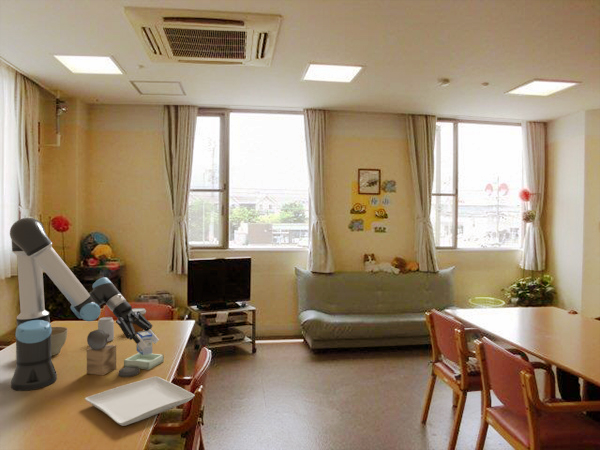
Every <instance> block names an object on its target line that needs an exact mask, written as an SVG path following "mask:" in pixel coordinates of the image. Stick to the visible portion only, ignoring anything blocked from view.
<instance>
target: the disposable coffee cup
mask: <svg viewBox="0 0 600 450" xmlns="http://www.w3.org/2000/svg"><path fill="white" fill-rule="evenodd" d="M132 311H133V312H135V313H136V312H138V311H140V313H141V314H142V316H143V317H145V316H146V313H147V310H146V308H143V307H136V308H135V307H134V308H132ZM145 318H146V317H145ZM132 325H133V328H134V330H135V333H137V332H140V331H144V330H143V329H142V328H140V327H139V326H138V325H136V324H133V323H132Z"/></svg>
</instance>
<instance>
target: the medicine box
mask: <svg viewBox="0 0 600 450" xmlns="http://www.w3.org/2000/svg"><path fill="white" fill-rule="evenodd" d="M137 334H138V335H139V336H140V337H141V339H142V340H143V341H144V342H145V344H146V345H147V346H146V347H145V348H144V350H142V349H141V348H140V347H139V345H138V344H137V343H136V352H137V353H140V354H142V355H148V354H153V341H152V334H150V333H149V332H147V331H145V330H143V331H140V332H136V335H137Z"/></svg>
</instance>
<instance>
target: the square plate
mask: <svg viewBox="0 0 600 450" xmlns="http://www.w3.org/2000/svg"><path fill="white" fill-rule="evenodd" d="M194 397H195V394H194V393H192V392H191V391H189V390H187V389H185V388H183V387H181V386H179V385H176V384H174V383H173V382H171V381H169V380H166V379H164V378H162V377H160V376H156V375H155V376H151V377H148V378H144V379H141V380H138V381H134V382H131V383H127V384H123V385H120V386H117V387H114V388H110V389H107V390H104V391H102V392H99V393H95V394H92V395H89V396H86V397H85V398H84V401H86V402H88V403H89V404H91V405H92V406H94V408H96V409H98V410H100V411H102V412H103V413H104V414H106V415H107V416H108V417H109V418H111V420H113V421H114V422H115V423H117V425H120V426H122V427H124V426H128V425H131V424H134V423H137V422H138V423H139V422H140V421H143V420H145V419H147V418H148V419H149V418H151V417H153V416H156V415H158V414H162V413H164V412H166V411H169V410H172V409H174V408H176V407H178V406H181V405H184V404H186V403H188V402H189V401H191V400H192V399H193V398H194Z"/></svg>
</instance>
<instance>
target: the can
mask: <svg viewBox="0 0 600 450" xmlns="http://www.w3.org/2000/svg"><path fill="white" fill-rule="evenodd" d="M114 326H115V321H114V319H113V317H112V316H105V317H101V318H99V319H98V321H97V330H98V329H99V330H102V331H104V332H105V334H107V333H108V334H109V335H110V336H109V338H107V343H109V342H112V341H113V340H114V338H115V334H114V333H115V327H114Z"/></svg>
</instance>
